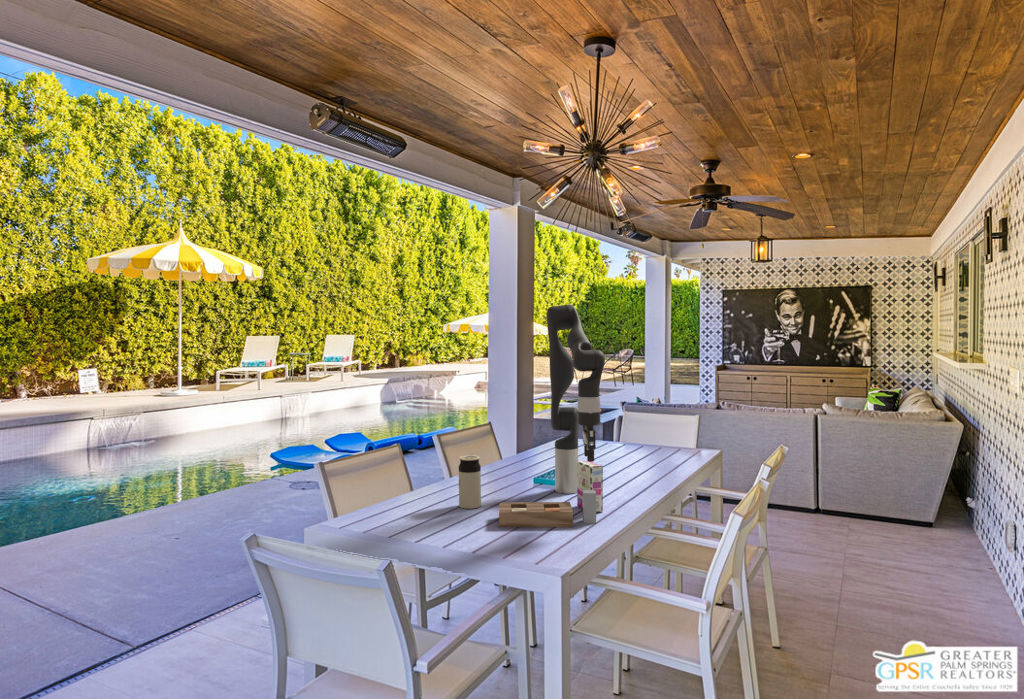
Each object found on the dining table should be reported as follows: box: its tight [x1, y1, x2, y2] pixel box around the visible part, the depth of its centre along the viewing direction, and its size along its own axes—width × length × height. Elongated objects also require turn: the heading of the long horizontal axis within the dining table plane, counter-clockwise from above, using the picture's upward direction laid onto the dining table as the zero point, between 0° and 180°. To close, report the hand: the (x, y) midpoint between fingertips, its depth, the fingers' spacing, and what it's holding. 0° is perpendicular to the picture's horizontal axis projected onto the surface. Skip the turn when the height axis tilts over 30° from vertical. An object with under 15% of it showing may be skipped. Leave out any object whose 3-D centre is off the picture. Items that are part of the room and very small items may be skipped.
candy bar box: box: [576, 460, 604, 514], centre depth 234 cm, size 11×5×16 cm, turn 21°
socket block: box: [498, 501, 574, 528], centre depth 219 cm, size 12×24×5 cm, turn 90°
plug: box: [582, 490, 597, 524], centre depth 219 cm, size 4×4×10 cm
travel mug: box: [458, 454, 482, 510], centre depth 239 cm, size 8×8×18 cm
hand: (589, 458), depth 218 cm, fingers open, 8 cm apart
